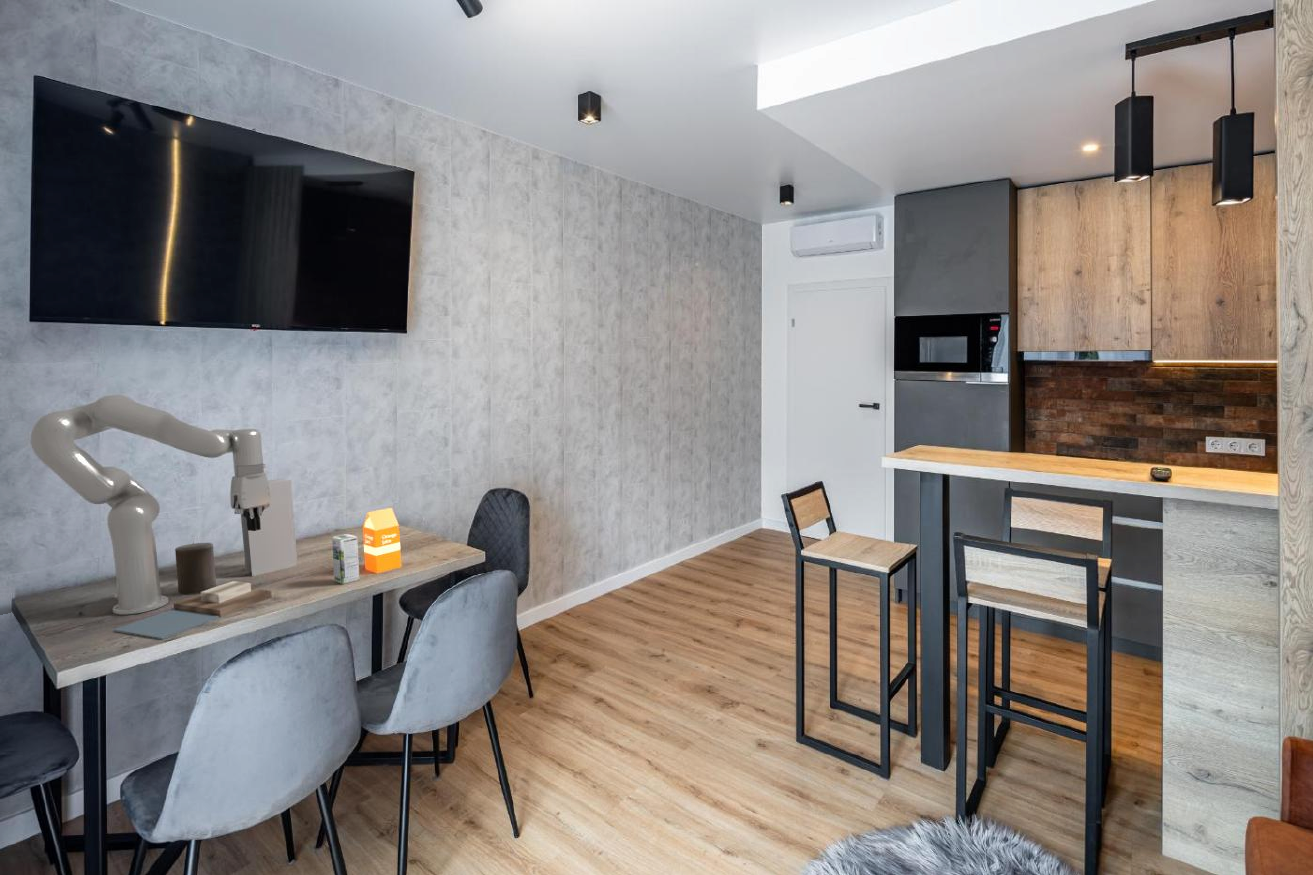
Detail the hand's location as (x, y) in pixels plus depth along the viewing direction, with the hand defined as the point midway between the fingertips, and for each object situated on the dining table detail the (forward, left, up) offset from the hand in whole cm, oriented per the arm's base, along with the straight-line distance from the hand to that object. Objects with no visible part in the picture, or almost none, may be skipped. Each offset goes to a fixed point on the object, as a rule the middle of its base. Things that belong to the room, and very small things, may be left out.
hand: (254, 529), depth 199 cm
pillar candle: (-20, -5, -19) cm, 28 cm away
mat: (0, -28, -19) cm, 33 cm away
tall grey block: (-15, +17, -19) cm, 30 cm away
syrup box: (+19, +15, -19) cm, 31 cm away
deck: (0, -12, -19) cm, 22 cm away
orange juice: (+21, +29, -19) cm, 41 cm away
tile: (0, -11, -17) cm, 20 cm away
